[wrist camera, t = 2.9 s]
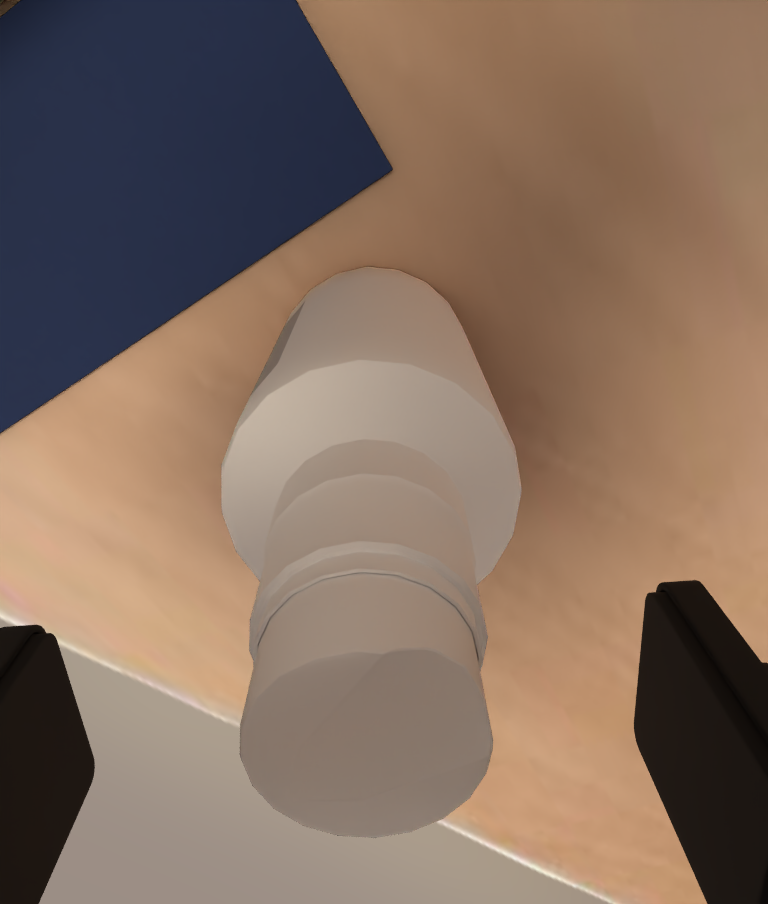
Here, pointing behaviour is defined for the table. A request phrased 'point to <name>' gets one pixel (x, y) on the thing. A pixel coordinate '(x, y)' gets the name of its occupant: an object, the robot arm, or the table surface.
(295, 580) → the white capped bottle
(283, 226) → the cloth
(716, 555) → the table surface
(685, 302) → the table surface
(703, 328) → the table surface
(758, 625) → the table surface
